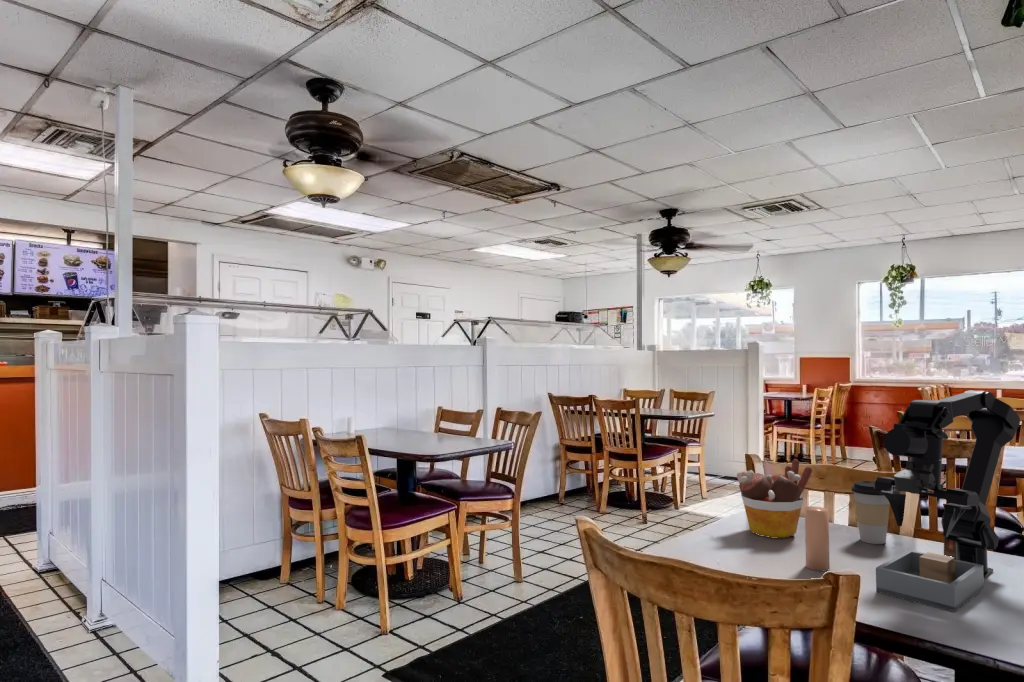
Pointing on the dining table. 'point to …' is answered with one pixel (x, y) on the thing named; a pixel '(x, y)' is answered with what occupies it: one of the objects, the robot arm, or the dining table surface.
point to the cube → (937, 567)
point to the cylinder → (817, 538)
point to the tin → (949, 548)
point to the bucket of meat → (773, 500)
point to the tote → (929, 582)
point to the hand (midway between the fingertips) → (921, 531)
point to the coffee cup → (871, 512)
